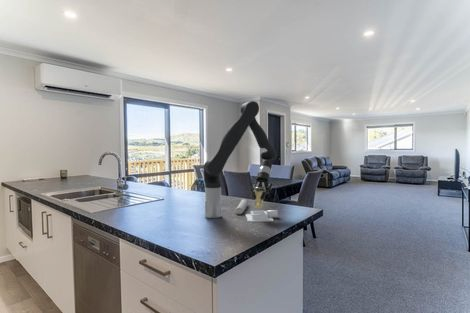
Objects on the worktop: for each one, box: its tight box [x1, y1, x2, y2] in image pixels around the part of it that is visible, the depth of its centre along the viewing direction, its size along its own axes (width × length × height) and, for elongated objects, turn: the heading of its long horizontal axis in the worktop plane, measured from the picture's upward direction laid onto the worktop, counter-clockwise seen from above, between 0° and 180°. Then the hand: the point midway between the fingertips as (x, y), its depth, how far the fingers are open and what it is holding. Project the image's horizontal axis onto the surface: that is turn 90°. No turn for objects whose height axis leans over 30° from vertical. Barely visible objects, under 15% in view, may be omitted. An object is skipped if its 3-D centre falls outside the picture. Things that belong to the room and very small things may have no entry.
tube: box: [234, 198, 249, 215], centre depth 168 cm, size 5×5×25 cm
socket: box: [245, 209, 279, 223], centre depth 149 cm, size 18×14×4 cm
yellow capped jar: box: [253, 186, 264, 209], centre depth 148 cm, size 6×6×11 cm
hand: (258, 198), depth 146 cm, fingers closed on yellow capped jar, 4 cm apart
